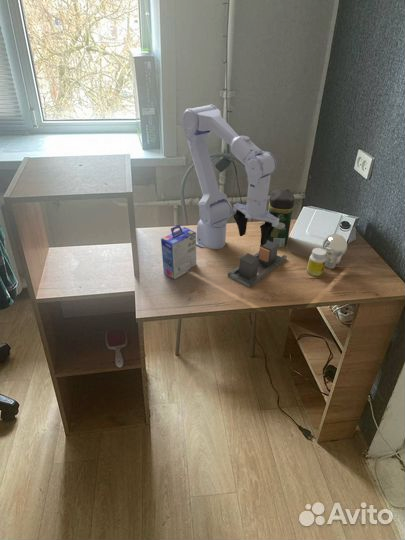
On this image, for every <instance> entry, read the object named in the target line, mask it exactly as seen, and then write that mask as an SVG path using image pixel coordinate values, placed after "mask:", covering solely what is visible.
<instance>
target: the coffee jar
mask: <svg viewBox="0 0 405 540" xmlns="http://www.w3.org/2000/svg"><path fill="white" fill-rule="evenodd" d="M294 202H295V196H294V193H293V192H292V191H290V189H288V188H279V187H278V188H277V187H276V188H275V189H273V190H272V191H271V192H270V195H269V200H268V205H267V212H269V213H270V214H272V215H273V216H275V217H276V218H279V225H277V226H276V227H275V228H274V229H273V230H272V232H271V233H270V235H269V237H268V240H269V241H271V242H273V243H276V244H278V248H285V247H286V246H287V245H288V240H289V236H290V228H291V222H292V217H293V216H292V215H293V211H294V204H295V203H294Z"/></svg>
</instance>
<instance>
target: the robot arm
mask: <svg viewBox="0 0 405 540" xmlns="http://www.w3.org/2000/svg"><path fill="white" fill-rule="evenodd" d="M180 122H181V125H182V129H183V131H184V135H185V138H186V140H187V145H188V148H189V153H190V155H191V158H192V162H193V166H194V169H195V173H196V176H197V179H198V183H199V187H200V189H201V193H202V197H201V199H200V200H199V202H198V203H197V205H198V210H199V212H198V213H199V214H198V215H199V220H198V222H197V225H196V246H198V247H201V248H205V247H207V248H209V249H211V250H212V249H213V250H218V249H222V248H224V247H225V246H226V241H227V240H226V239H227V225H228V224H227V223H228V222H229V218H231V217H232V215H233V219H234V221H235V223H236V225H237V228H238V234H239V237H243V236H244V235H246V232H247V225H248V221H249V220H252V219H253V220H258V221H261V222H264V223H263V224H261V225H260V226H259V227H260V233H261V234H260V242H259V243H260V245H262V246H263V245H264V244H266V242H267V240H268V237H269V235H270V233H271V232H272V230H273V229H274V228H275V227H276V226H277V225H279V218H276V217H275V216H273V215H272V214H270V213H269V212H268V210H267V209H268V201H269V200H268V198H269V191H270V184H271V176H272V174H273V173H275V171H276V169H277V165H278V164H277V160H276V157H275V156H274V154H273V153H272V152H269V151H264V150H262V149H261V148H259V147H258V146H257V145H256V144H255V143H254V142H252V141H251V138H250V137H249V136H248V135H247V136H246V135H239V134H238V133H237V132H236V131H235V130H234V129H233V127H232V126H230V124H228V122H227V121H226V120H225V119H224V118H223V117H222V111H221V110H220V109H218V108H217V106H216V105H214V104H207V105H203V106H198V107H193V108H189V107H188V108H186V109H185V110H184V111H183V113H182V117H181V120H180ZM211 133H214V134H215V135H217V137H219V138H220V139H221V140H222V141H224V142H225V143H226V144H227V145H229V146H230V148H229V149H230V150H229V151H230V153H231V154H232V155H233V156H234V157H235V158H236V159H237V160H239V162H240V163H241V164H242V165H244V169H245V170H244V171H245V172H246V174H247V183H248V186H247V194H246V195H247V196H246V204H242V203H239V202H236V203H235V204H233V206H232V203H230V202H231V201H230V200H229V198H228V195H227V194H226V193H224V192H223V191H220V188H219V183H218V180H217V178H216V177H217V176H216V173H215V170H214V166H213V163H212V159H211V154H210V152H209V148H208V146H207V139H208V136H209V135H211ZM233 212H235V213H234V214H233Z"/></svg>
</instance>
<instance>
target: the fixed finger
mask: <svg viewBox="0 0 405 540" xmlns="http://www.w3.org/2000/svg"><path fill="white" fill-rule="evenodd" d="M278 248H279V247H278V244H276V243H273V242H271V241H269V240H267V242H266V244H264V245H263V246H262V245H261V244H260V245H259V250H258V252H259V262H261V263H263V264H265V265H268V266H270V265H271V264H272V263H274V262H275V261H276V256H277V255H278Z"/></svg>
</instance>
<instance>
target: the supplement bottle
mask: <svg viewBox="0 0 405 540" xmlns="http://www.w3.org/2000/svg"><path fill="white" fill-rule="evenodd" d="M325 256H326V251H325V250H324V249H323V248H320V247H316V248H313V249H312V251H311V254H310V256H309V259H308V262H307V263H308V264H307V268H306V273H307V274H308V275H309V276H312V277H321V276H322V275H323V272H324V269H325V261H326V258H325Z"/></svg>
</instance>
